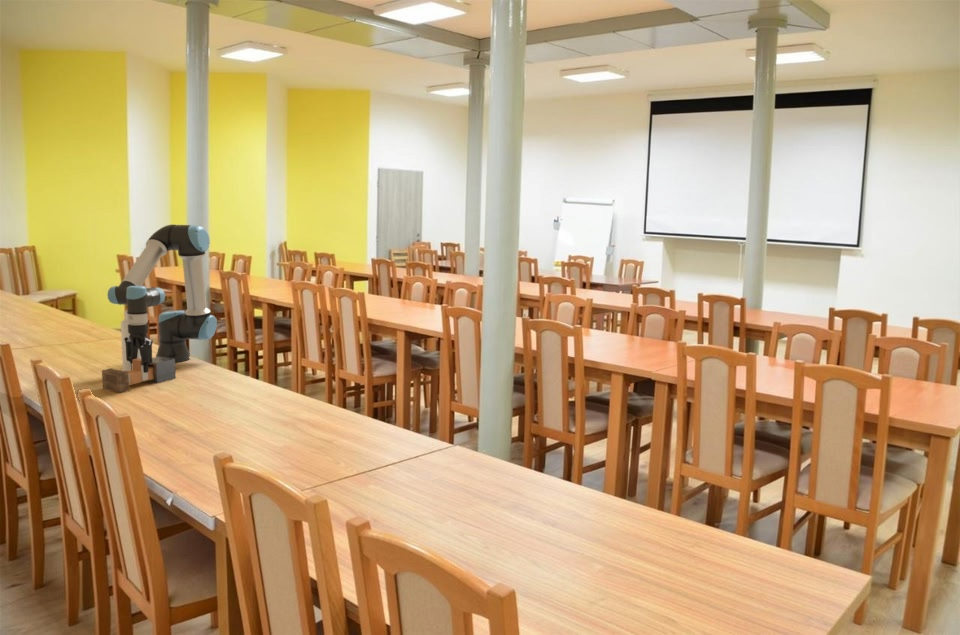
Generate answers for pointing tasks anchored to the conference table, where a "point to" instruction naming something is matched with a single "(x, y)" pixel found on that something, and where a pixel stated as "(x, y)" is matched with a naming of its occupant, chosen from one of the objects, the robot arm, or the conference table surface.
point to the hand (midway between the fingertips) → (140, 378)
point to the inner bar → (139, 372)
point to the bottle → (125, 334)
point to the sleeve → (163, 369)
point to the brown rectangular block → (115, 380)
